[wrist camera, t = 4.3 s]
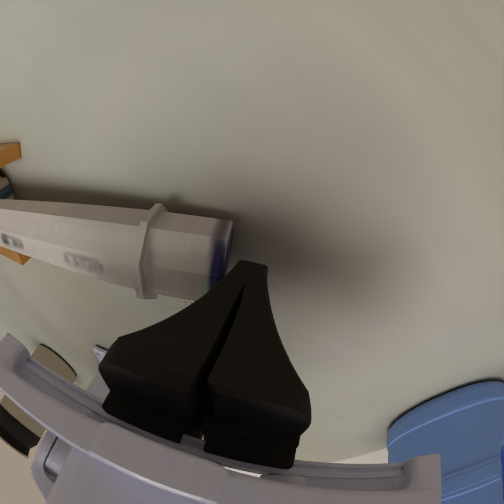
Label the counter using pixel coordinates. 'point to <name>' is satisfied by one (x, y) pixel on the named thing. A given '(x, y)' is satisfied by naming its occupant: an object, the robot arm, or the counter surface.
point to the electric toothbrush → (121, 243)
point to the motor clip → (3, 156)
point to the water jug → (458, 441)
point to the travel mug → (17, 421)
